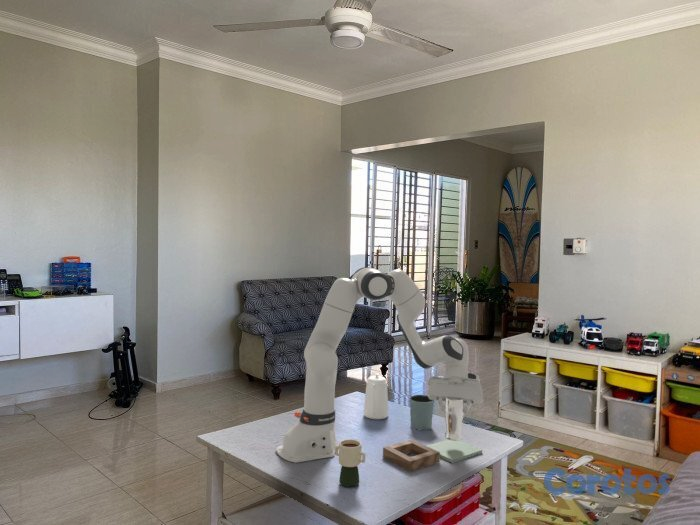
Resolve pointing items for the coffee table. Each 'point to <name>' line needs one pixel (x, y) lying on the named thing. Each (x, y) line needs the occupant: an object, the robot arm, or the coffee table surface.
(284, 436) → the robot arm
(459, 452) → the sage board
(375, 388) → the coffeepot
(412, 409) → the green plant pot
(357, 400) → the coffee table surface
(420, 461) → the walnut holder
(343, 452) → the character mug
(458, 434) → the silver metal tumbler
